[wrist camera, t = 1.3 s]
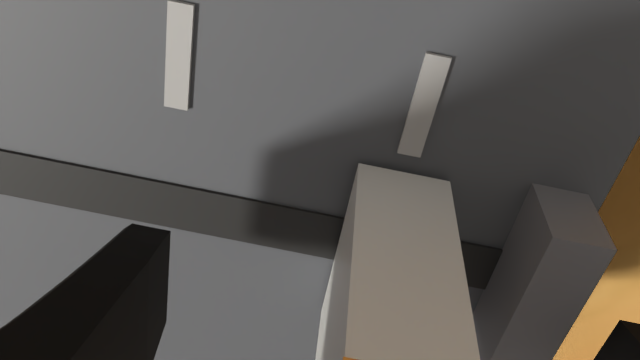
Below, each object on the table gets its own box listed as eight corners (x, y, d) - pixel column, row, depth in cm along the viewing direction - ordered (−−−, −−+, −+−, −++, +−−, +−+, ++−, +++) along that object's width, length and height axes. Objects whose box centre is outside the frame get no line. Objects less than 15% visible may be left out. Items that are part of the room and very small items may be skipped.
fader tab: (398, 325, 12) (406, 604, 8) (320, 310, 12) (286, 581, 8) (450, 180, 10) (498, 450, 6) (358, 161, 10) (338, 419, 6)
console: (434, 432, 17) (444, 561, 14) (-109, 328, 17) (-211, 438, 14) (743, -212, 9) (930, -216, 6) (-364, -451, 8) (-772, -587, 5)
